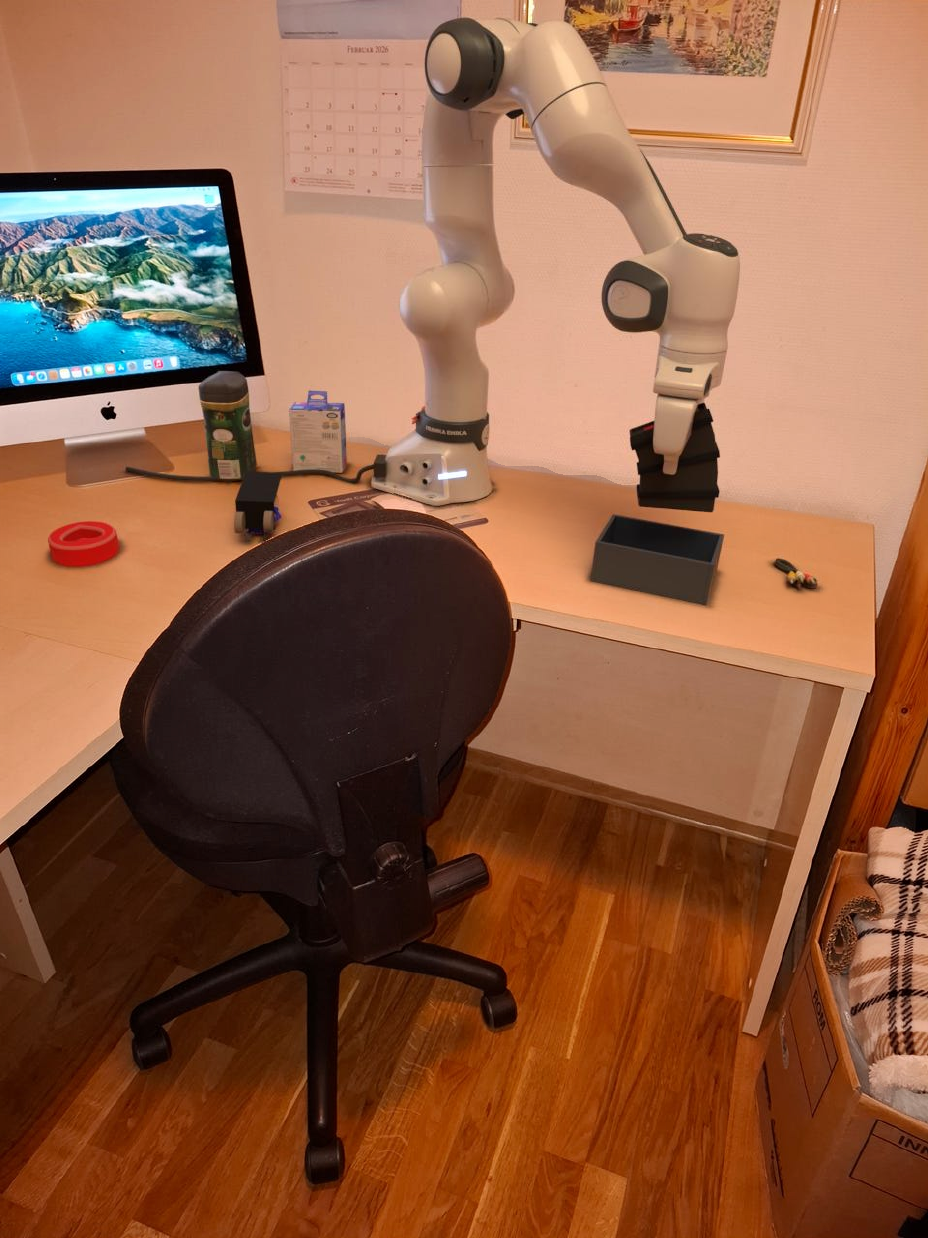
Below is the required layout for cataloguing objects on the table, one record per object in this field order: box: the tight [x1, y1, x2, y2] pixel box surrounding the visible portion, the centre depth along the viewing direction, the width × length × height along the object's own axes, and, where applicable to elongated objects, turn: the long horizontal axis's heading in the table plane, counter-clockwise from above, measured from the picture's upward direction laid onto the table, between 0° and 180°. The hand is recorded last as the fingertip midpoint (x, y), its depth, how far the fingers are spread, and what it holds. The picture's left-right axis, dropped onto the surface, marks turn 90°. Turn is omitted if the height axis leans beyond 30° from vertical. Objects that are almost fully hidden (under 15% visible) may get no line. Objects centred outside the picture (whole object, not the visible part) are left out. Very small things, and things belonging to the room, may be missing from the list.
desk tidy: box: [590, 513, 725, 606], centre depth 128 cm, size 17×11×6 cm, turn 68°
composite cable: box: [774, 558, 818, 590], centre depth 130 cm, size 10×5×2 cm, turn 177°
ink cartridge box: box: [288, 390, 348, 474], centre depth 160 cm, size 10×6×14 cm, turn 89°
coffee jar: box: [198, 370, 257, 483], centre depth 155 cm, size 10×8×19 cm
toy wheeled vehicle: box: [233, 471, 283, 542], centre depth 138 cm, size 7×8×15 cm
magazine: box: [629, 402, 721, 513], centre depth 121 cm, size 4×13×15 cm, turn 82°
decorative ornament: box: [47, 520, 120, 567], centre depth 129 cm, size 10×10×3 cm
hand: (673, 466), depth 121 cm, fingers closed on magazine, 4 cm apart
